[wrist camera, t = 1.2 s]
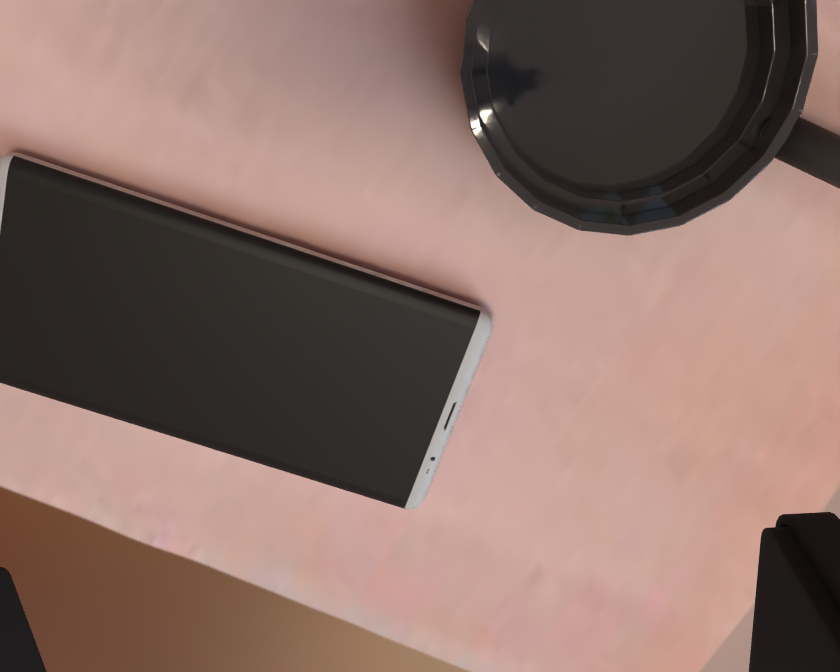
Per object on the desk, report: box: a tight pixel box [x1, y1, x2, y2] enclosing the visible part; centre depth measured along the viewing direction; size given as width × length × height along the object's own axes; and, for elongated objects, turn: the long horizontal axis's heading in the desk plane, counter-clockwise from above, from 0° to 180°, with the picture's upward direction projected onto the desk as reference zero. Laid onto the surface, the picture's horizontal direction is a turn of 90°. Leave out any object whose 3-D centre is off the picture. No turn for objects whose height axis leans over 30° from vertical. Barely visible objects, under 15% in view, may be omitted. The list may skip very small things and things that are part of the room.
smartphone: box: [0, 153, 492, 509], centre depth 44 cm, size 13×27×2 cm, turn 72°
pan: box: [461, 0, 818, 235], centre depth 36 cm, size 15×15×4 cm
